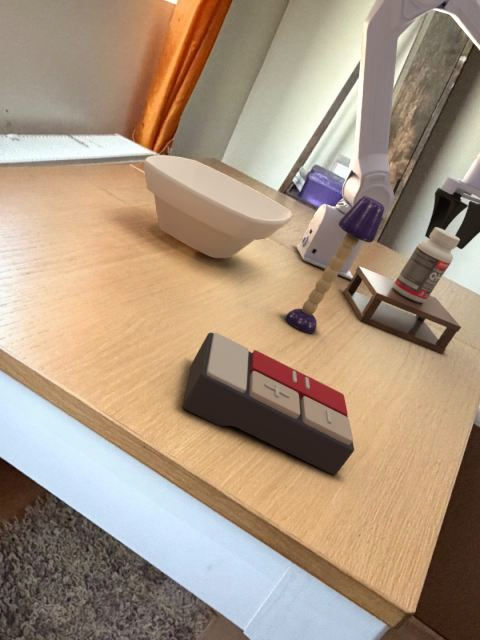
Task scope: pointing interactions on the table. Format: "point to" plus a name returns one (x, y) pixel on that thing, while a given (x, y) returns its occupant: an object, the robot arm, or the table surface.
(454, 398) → the table surface
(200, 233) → the bowl
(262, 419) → the calculator
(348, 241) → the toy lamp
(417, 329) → the rack
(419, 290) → the pill bottle
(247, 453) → the table surface
